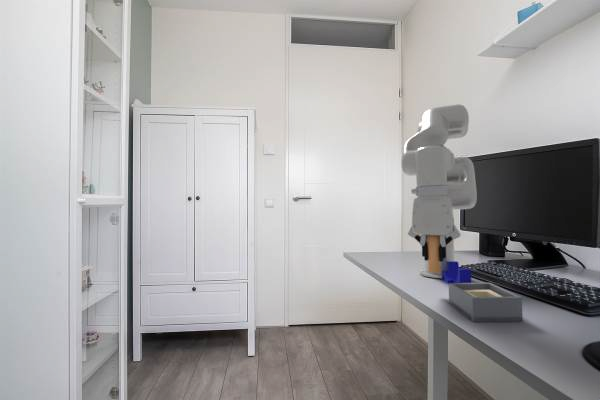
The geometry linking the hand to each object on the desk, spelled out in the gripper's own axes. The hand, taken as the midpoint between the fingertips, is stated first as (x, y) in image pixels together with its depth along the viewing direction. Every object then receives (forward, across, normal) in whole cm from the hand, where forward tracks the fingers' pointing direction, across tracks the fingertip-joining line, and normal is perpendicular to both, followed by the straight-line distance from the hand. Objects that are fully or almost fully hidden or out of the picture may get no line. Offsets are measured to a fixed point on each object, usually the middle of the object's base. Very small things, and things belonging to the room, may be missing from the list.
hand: (434, 259), depth 86 cm
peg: (+3, 0, 0) cm, 3 cm away
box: (+9, +12, -9) cm, 18 cm away
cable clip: (+11, +4, +12) cm, 17 cm away
